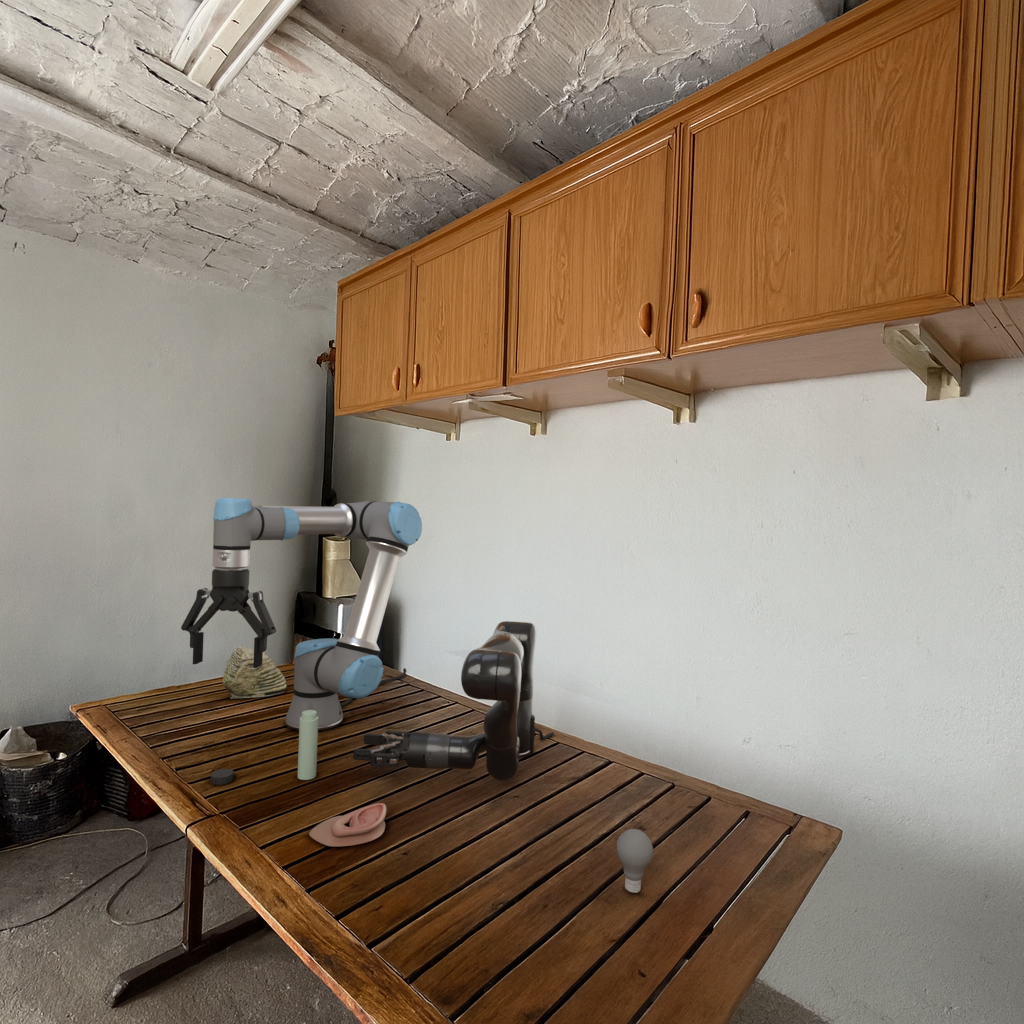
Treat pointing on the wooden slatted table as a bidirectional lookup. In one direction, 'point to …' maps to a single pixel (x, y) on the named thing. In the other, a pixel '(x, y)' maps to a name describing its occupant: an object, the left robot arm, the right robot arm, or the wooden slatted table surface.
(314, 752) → the bottle
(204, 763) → the wooden slatted table surface
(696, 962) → the wooden slatted table surface
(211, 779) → the lid
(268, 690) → the fossil
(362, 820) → the anatomical model
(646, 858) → the light bulb
